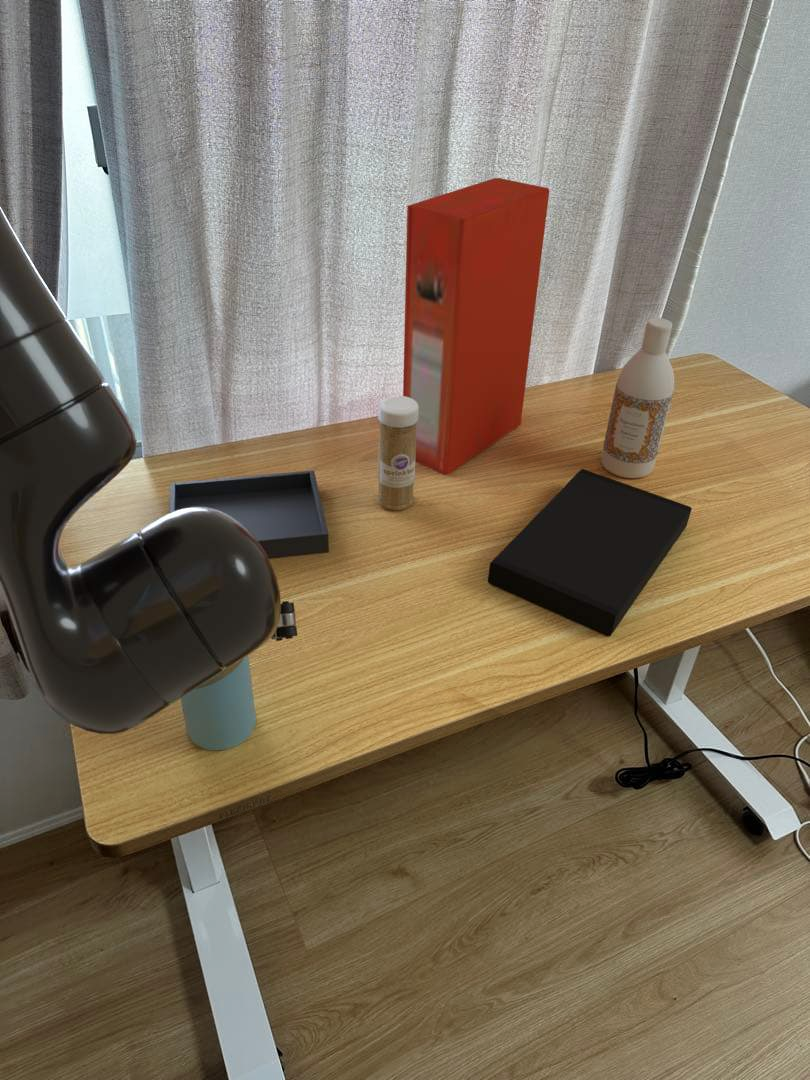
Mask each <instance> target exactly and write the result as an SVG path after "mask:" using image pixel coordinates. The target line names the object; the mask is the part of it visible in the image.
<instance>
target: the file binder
mask: <svg viewBox="0 0 810 1080" xmlns="http://www.w3.org/2000/svg"><path fill="white" fill-rule="evenodd" d="M549 198H550V188H549V187H544V186H541V185H535V184H530V183H524V182H522V181H521V182H520V181H515V180H511V179H506V178H501V177H494V178H490V179H488V180H485V181H481V182H478V183H475V184H471V185H469V186H465V187H462V188H459V189H456V190H452V191H450V192H446V193H443V194H440V195H437V196H434V197H430V198H427V199H424V200H421V201H418V202H414V203H412V204H409V205H406V206H407V207H406V208H407V209H406V246H405V248H406V249H405V251H406V252H405V253H406V254H405V257H406V258H405V293H404V295H405V296H404V335H403V339H404V340H403V342H404V343H403V377H402V378H403V380H402V384H403V385H402V396H405V397H409V398H411V399H413V400H415V401H416V402H417V403H418V406H419V413H418V421H417V424H416V457H415V463H418V464H421V465H423V466H425V467H427V468H429V469H432V470H434V471H437V472H439V473H441V474H444V475H449V474H451V473H452V472H454V471H456V470H457V469H458V468H460V467H461V466H463V465H464V464H466V463H467V462H469V461H470V460H472V459H473V458H475V457H476V456H477V455H479V454H480V453H482V452H483V451H485V450H487V449H488V448H489V447H490V446H492V445H493V444H495V443H496V442H498V441H499V440H501V439H502V438H503V437H505V436H507V435H508V434H509V433H511V432H512V431H514V430H516V429H517V428H518V427H520V426H521V425H522V417H523V410H524V409H523V408H524V402H525V401H524V400H525V393H526V392H525V391H526V384H527V383H526V382H527V377H528V369H529V360H530V352H531V344H532V336H533V328H534V327H533V326H534V321H535V320H534V317H535V311H536V302H537V297H538V296H537V294H538V287H539V278H540V271H541V262H542V254H543V247H544V239H545V238H544V237H545V230H546V222H547V213H548V205H549Z"/></svg>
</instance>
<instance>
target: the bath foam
mask: <svg viewBox="0 0 810 1080" xmlns="http://www.w3.org/2000/svg"><path fill="white" fill-rule="evenodd" d="M672 329H673V322H672V321H670V320H668V319H666V318H663V317H651V318H649V319H648V320H647V322H646V325H645V329H644V334H643V338H642V343H641V348H640V349H639V350H638V351H637V352H636V353H634V355H632V357H630V359H629V360H628V361H626V363H625V364H624V365H623V367H622V369H621V370H620V372H619V375H618V378H617V381H616V384H615V389H614V392H613V393H614V395H613V398H612V402H611V403H612V404H611V407H610V412H609V417H608V422H607V426H606V431H605V436H604V441H603V447H602V452H601V457H600V462H601V464H602V466H603V468H604V469H605V470H606V471H608V472H609V473H610V474H612V475H614V476H617V477H619V478H620V477H621V478H625V479H641V478H644V477H647V476H649V475H651V473H652V472H653V470H654V469H655V465H656V461H657V459H658V455H659V450H660V446H661V443H662V439H663V435H664V430H665V428H666V427H665V426H666V423H667V419H668V415H669V411H670V408H671V404H672V400H673V396H674V393H675V392H674V391H675V373H674V369H673V366H672V364H671V361H670V359H669V356H668V354H667V349H668V346H669V342H670V337H671V334H672Z"/></svg>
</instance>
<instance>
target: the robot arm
mask: <svg viewBox="0 0 810 1080" xmlns="http://www.w3.org/2000/svg"><path fill="white" fill-rule="evenodd" d="M105 381H106V379H105V377H104V375H103V374H102V372H101V371H100V369H99V367H98V366H97V364H96V363H95V361H94V359H93V357H92V356H91V355H90V353H89V351H88V350H87V348H86V347H85V345H84V343H83V342H82V340H81V338H80V337H79V336H78V334H77V332H76V331H75V329H74V328H73V326H72V324H71V323H70V321H69V320H67V316H66V315H65V313H64V312H63V310H62V308H61V307H60V305H59V303H58V302H57V300H56V299H55V296H53V294H52V293H51V290H50V289H49V288H48V286H47V284H46V283H45V281H44V280H43V278H42V277H41V275H40V273H39V271H38V270H37V269H36V267H35V265H34V263H33V262H32V260H31V258H30V256H29V255H28V253H27V252H26V250H25V248H24V247H23V245H22V243H21V242H20V240H19V238H18V237H17V234H16V233H15V231H14V229H13V228H12V226H11V224H10V222H9V220H8V219H7V217H6V215H5V213H4V211H3V209H2V208H1V207H0V590H1V592H2V595H3V598H4V601H5V604H6V606H7V609H8V611H9V615H10V618H11V621H12V624H13V627H14V630H15V633H16V636H17V639H18V642H19V645H20V648H21V651H22V653H23V656H24V659H25V662H26V665H27V668H28V670H29V672H30V675H31V677H32V679H33V681H34V684H35V686H36V688H37V690H38V691H39V693H40V695H41V697H42V698H43V701H45V703H46V704H47V705H48V707H50V709H51V710H52V711H53V712H54V713H55V714H56V715H58V716H59V717H60V718H61V719H63V720H64V721H66V722H67V723H69V724H71V725H72V726H74V727H77V728H79V729H82V730H84V731H86V732H89V733H90V732H91V733H95V734H98V735H117V734H118V735H119V734H122V733H125V732H127V731H129V730H131V729H134V728H136V727H138V726H140V725H141V724H143V723H145V722H146V721H148V720H149V719H151V718H153V717H154V716H155V715H157V714H159V713H160V712H162V711H163V710H165V709H167V708H168V707H169V706H171V704H174V703H176V702H177V701H179V700H180V698H182V697H183V696H185V695H187V694H188V693H190V692H191V691H193V690H194V689H199V688H203V687H206V686H209V685H211V684H214V683H216V682H217V681H219V680H221V679H223V678H224V677H226V676H227V675H229V674H230V673H231V672H232V671H234V670H235V669H236V668H237V667H238V665H239V664H240V663H241V662H242V660H243V659H244V658H245V657H246V656H250V655H251V654H253V653H254V652H256V651H257V650H259V648H261V647H262V646H264V645H266V643H268V642H269V641H270V640H275V641H276V642H280V641H283V639H285V640H289V639H293V638H294V637H297V636H298V629H297V619H296V611H295V603H294V602H293V601H292V602H290V601H289V600H284V601H282V600H281V591H280V586H279V583H278V578H277V575H276V572H275V570H274V569H275V568H274V567H273V565H272V562H271V560H270V558H268V556H267V554H266V553H265V551H264V549H263V548H262V546H261V545H260V543H259V542H258V541H257V540H256V538H255V537H254V536H253V535H252V534H251V533H250V531H249V530H248V529H247V528H245V527H244V526H243V525H242V524H241V523H239V522H238V521H237V520H235V519H234V518H233V517H231V516H229V515H227V514H226V513H223V512H221V511H219V510H216V509H212V508H207V507H190V508H184V509H180V510H177V511H174V512H171V513H169V512H168V513H167V514H165V515H163V516H161V517H160V518H157V519H156V520H154V521H152V522H150V523H149V524H147V525H145V526H143V527H141V528H139V531H138V532H136V531H135V532H133V533H131V534H130V535H127V536H126V537H124V538H123V539H121V540H119V541H118V542H116V543H114V544H113V545H111V546H109V547H107V548H106V549H104V550H103V551H101V552H99V553H97V554H95V555H93V556H92V557H91V558H88V559H87V560H85V561H83V562H82V563H81V564H77V565H76V566H74V567H70V566H69V564H68V563H67V561H66V558H65V557H64V555H63V550H62V545H61V539H62V535H63V532H64V531H65V527H66V526H67V525H68V523H69V522H70V520H71V519H72V517H74V515H76V514H77V512H78V511H79V510H80V509H81V508H82V507H83V506H84V505H85V504H86V503H87V502H88V501H89V500H91V499H92V498H93V497H94V496H95V495H97V493H99V492H100V491H101V490H102V489H104V487H106V486H107V485H108V484H109V483H110V482H111V481H113V480H114V479H115V478H116V477H117V476H118V475H119V474H120V473H121V472H122V471H123V470H125V468H126V467H127V466H128V465H129V463H130V462H131V460H132V459H133V457H134V455H135V453H136V450H137V446H138V445H137V444H138V441H137V440H138V439H137V435H136V430H135V428H134V427H133V424H132V422H131V420H130V418H129V416H128V414H127V413H126V410H125V409H124V407H123V406H122V404H121V403H120V401H119V399H118V398H117V395H116V394H115V393H114V391H113V390H112V388H111V386H110V385H109V383H107V382H105Z"/></svg>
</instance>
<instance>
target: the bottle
mask: <svg viewBox="0 0 810 1080" xmlns="http://www.w3.org/2000/svg"><path fill="white" fill-rule="evenodd" d="M249 656H250V655H248V656H246V657H245V658H244V659H243V660H242V662H241V663H240V664H239V665H238V667H237V668H236V669H235V670H234V671H232V672H231V673H230V674H229V675H227V676H226V677H224V678H223V679H221V680H219V681H217V682H216V683H214V684H211V685H209V686H206V687H203V688H199V689H194V690H193V691H191V692H190V693H188V694H187V695H185V696H183V697H182V698H180V699H179V700H180V704H181V709H182V714H183V719H184V724H185V729H186V734H187V736H188V738H189V739H190V741H191V742H192V743H193V744H194V745H196V746H197V747H199V748H200V749H204V750H207V751H225V750H229V749H233V748H235V747H237V746H239V745H241V744H242V743H244V742H245V741H246V740H247V739H248V738H249V737H250V736H251V735H252V733H253V732H254V730H255V727H256V723H257V716H256V707H255V698H254V691H253V690H254V689H253V682H252V675H251V673H252V672H251V665H250V657H249Z"/></svg>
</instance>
